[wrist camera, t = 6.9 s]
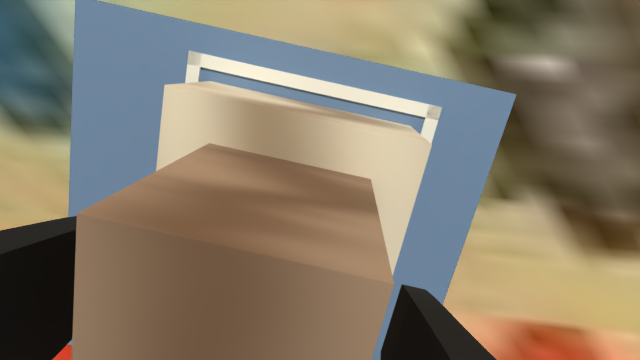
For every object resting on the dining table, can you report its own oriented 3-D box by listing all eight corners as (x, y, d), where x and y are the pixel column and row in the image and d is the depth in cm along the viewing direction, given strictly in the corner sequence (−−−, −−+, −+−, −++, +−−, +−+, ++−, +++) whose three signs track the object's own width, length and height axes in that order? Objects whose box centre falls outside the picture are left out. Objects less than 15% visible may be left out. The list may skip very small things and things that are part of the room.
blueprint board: (509, 93, 15) (517, 94, 14) (400, 410, 20) (401, 422, 19) (85, -2, 15) (73, -5, 15) (72, 335, 20) (62, 344, 19)
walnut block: (371, 179, 12) (394, 284, 6) (334, 318, 13) (325, 512, 7) (209, 143, 12) (77, 213, 6) (190, 285, 13) (67, 454, 7)
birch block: (410, 125, 15) (431, 144, 11) (361, 300, 17) (365, 365, 14) (210, 81, 15) (164, 84, 11) (186, 261, 17) (142, 314, 14)
